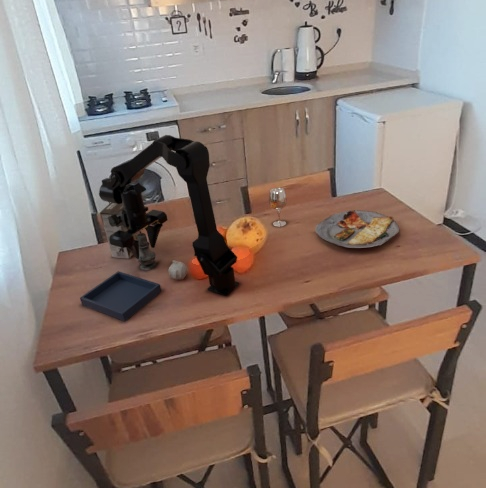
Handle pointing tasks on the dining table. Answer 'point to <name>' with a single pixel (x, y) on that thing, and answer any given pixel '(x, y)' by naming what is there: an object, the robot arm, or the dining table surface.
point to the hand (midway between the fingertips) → (145, 253)
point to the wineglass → (278, 203)
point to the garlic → (178, 270)
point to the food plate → (357, 229)
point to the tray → (121, 295)
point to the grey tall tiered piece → (145, 253)
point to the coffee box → (115, 230)
